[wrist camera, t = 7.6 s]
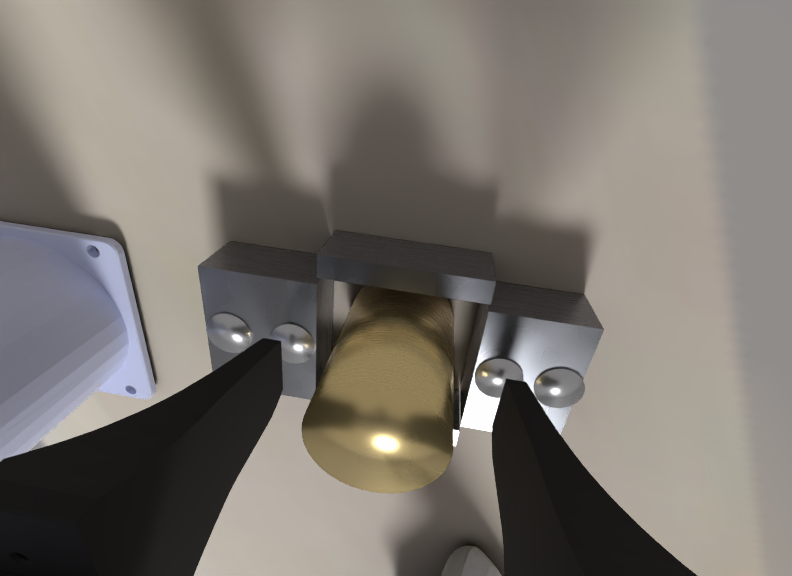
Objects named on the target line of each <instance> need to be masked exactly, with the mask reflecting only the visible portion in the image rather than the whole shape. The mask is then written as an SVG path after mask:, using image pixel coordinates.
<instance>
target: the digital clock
mask: <svg viewBox="0 0 792 576" xmlns="http://www.w3.org/2000/svg"><path fill="white" fill-rule="evenodd" d="M441 576H502V575H501V574H500V572H499V571H498V569H497V568H496V567H495V566H494V564H493V563H492V562H491V561H490V560H489V559H488V557H487V556H486V555H485V554H484V553H483V552H482V551H481V550H480V549H479V548H477V547H474V546H462V547H460V548H458V549H457V550H455V551H454V552H453V553H452V554H451V555H450V557H449V558H448V560H447V562H446V564H445V567H444V569H443V572H442V575H441Z"/></svg>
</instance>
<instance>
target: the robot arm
mask: <svg viewBox="0 0 792 576" xmlns="http://www.w3.org/2000/svg"><path fill="white" fill-rule="evenodd" d="M94 246H95V247H96V248H97V249H98V250H99V252H100V253H99V252H98V251H97V250H96V249H95V247H94ZM95 391H101V392H107V393H112V394H118V395H123V396H129V397H134V398H140V399H149V398H151V397H152V396H153V395H154V394H155V392H156V386H155V381H154V377H153V373H152V369H151V364H150V360H149V356H148V352H147V347H146V343H145V339H144V334H143V330H142V326H141V322H140V317H139V313H138V309H137V305H136V300H135V296H134V292H133V287H132V283H131V279H130V275H129V270H128V266H127V262H126V258H125V253H124V250H123V248H122V246H121V245H120V244H119V243H118V242H117V241H115V240H114V239H111V238H107V237H100V236H94V235H87V234H81V233H74V232H68V231H61V230H55V229H48V228H42V227H35V226H29V225H22V224H16V223H9V222H3V221H0V576H194V573H195V571H196V568H197V566H198V563H199V561H200V558H201V556H202V553H203V551H204V549H205V546H206V544H207V542H208V539H209V537H210V535H211V532H212V530H213V528H214V525H215V523H216V521H217V519H218V516H219V514H220V512H221V510H222V508H223V505H224V503H225V501H226V499H227V496H228V494H229V492H230V490H231V488H232V486H233V484H234V482H235V481H236V479H237V477H238V475H239V473H240V472H241V470H242V468H243V466H244V465H245V463H246V461H247V459H248V458H249V456H250V454H251V453H252V451H253V449H254V447H255V446H256V444H257V442H258V440H259V439H260V437H261V435H262V433H263V432H264V430H265V428H266V426H267V425H268V423H269V421H270V419H271V417H272V415H273V413H274V410H275V408H276V406H277V403H278V401H279V398H280V396H281V393H282V391H283V373H282V348H281V341H279V340H273V339H267V338H262V339H261V340H259V341H258V342H256V343H255V344H253V345H252V346H250V347H249V348H247V349H246V350H244V351H243V352H241V353H240V354H239V355H237V356H236V357H234V358H233V359H231V360H230V361H228V362H227V363H225V364H224V365H222V366H221V367H219V368H218V369H216V370H215V371H213V372H212V373H210V374H208V375H207V376H205V377H203V378H202V379H200V380H198V381H197V382H195V383H193V384H192V385H190V386H188V387H187V388H185V389H183V390H182V391H180V392H178V393H176V394H174V395H172V396H170V397H169V398H167V399H165V400H163V401H161V402H159V403H157V404H155V405H153V406H151V407H149V408H146V409H144V410H142V411H140V412H138V413H135V414H133V415H131V416H128V417H126V418H124V419H121V420H119V421H117V422H114V423H112V424H110V425H107V426H104V427H102V428H99V429H97V430H94V431H91V432H88V433H86V434H83V435H80V436H77V437H74V438H71V439H68V440H65V441H62V442H59V443H56V444H53V445H50V446H46V447H43V448H40V449H36V450H33V451H29V450H30V449H31V448H32V447H34V446H35V445H36V444H37V443H38V442H39V441H40V440H41V439H43V438H44V437H45V436H46V435H47V434H48V433H49V432H50V431H52V430H53V429H54V428H55V427H56V426H57V425H58V424H59V423H61V422H62V421H63V420H64V419H65V418H66V417H67V416H68V415H70V414H71V413H72V412H73V411H74V410H75V409H76V408H77V407H79V406H80V405H81V404H82V403H83V402H84V401H85V400H86V399H88V398H89V397H90V396H91V395H92V394H93V393H94V392H95ZM28 451H29V452H28ZM492 458H493V466H494V474H495V481H496V489H497V496H498V503H499V511H500V518H501V525H502V534H503V544H504V567H505V576H697V575H696V574H695V573H693V572H692V571H691V570H689V569H688V568H687V567H686V566H684V565H683V564H682V563H681V562H680V561H678V560H677V559H676V558H675V557H674V556H673V555H671V554H670V553H669V552H668V551H667V550H666V549H665V548H663V547H662V546H661V545H660V544H659V543H658V542H657V541H655V540H654V539H653V538H652V537H651V536H650V535H649V534H648V533H647V532H646V531H645V530H643V529H642V528H641V527H640V526H639V525H638V524H637V523H636V522H635V521H634V520H633V519H632V518H631V517H630V516H629V515H628V514H627V513H626V512H625V511H624V510H623V509H622V508H621V507H620V506H619V505H618V504H617V503H616V502H615V501H614V500H613V499H612V498H611V497H610V496H609V495H608V493H607V492H606V491H605V490H604V489H603V488H602V487H601V486H600V484H599V483H598V482H597V481H596V480H595V479H594V478H593V477H592V475H591V474H590V473H589V472H588V471H587V470H586V468H585V467H584V466H583V465H582V463H581V462H580V461H579V459H578V458H577V457H576V456H575V454H574V453H573V452H572V450H571V449H570V448H569V446H568V445H567V443H566V442H565V441H564V439H563V438H562V436H561V435H560V434H559V432H558V431H557V429H556V428H555V426H554V425H553V423H552V422H551V420H550V419H549V417H548V416H547V414H546V413H545V411H544V409H543V408H542V406H541V405H540V403H539V402H538V400H537V398H536V397H535V395H534V393H533V392H532V390H531V389H530V387H529V385H528V384H527V383H526V382H524V381H518V380H512V379H506V380H505V384H504V387H503V390H502V394H501V397H500V400H499V404H498V407H497V411H496V414H495V417H494V421H493V424H492Z"/></svg>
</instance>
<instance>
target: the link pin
mask: <svg viewBox="0 0 792 576" xmlns="http://www.w3.org/2000/svg"><path fill="white" fill-rule="evenodd" d="M453 393H454V316H453V311H452V308H451V305H450V303H449V301H448V299H447V298H444V297H438V296H431V295H425V294H418V293H412V292H406V291H399V290H393V289H386V288H380V287H373V286H367V285H365V286H364V287H363V288H362V289H361V290H360V291H359V293H358V294H357V296H356V298H355V300H354V302H353V304H352V307H351V309H350V311H349V314H348V316H347V318H346V321H345V323H344V325H343V328H342V330H341V332H340V334H339V337H338V339H337V341H336V344H335V346H334V348H333V351H332V353H331V355H330V357H329V360H328V362H327V364H326V367H325V369H324V371H323V374H322V376H321V378H320V381H319V383H318V385H317V387H316V390H315V392H314V394H313V397H312V399H311V401H310V404H309V406H308V408H307V410H306V413H305V415H304V418H303V422H302V438H303V441H304V444H305V447H306V449H307V451H308V453H309V454H310V456H311V457H312V459H313V460H314V461H315V462H316V463H317V464H318V465H319V466H320V467H321V468H322V469H323V470H324V471H325V472H327V473H328V474H329V475H331V476H332V477H334V478H336V479H337V480H339V481H341V482H343V483H345V484H348V485H350V486H352V487H355V488H359V489H362V490H366V491H371V492H378V493H401V492H408V491H412V490H416V489H419V488H421V487H424V486H426V485H428V484H430V483H431V482H433V481H434V480H436V479H437V478H438V477H439V476H441V475H442V474H443V472H444V471H445V470H446V469H447V467H448V465H449V463H450V461H451V458H452V454H453Z"/></svg>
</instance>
